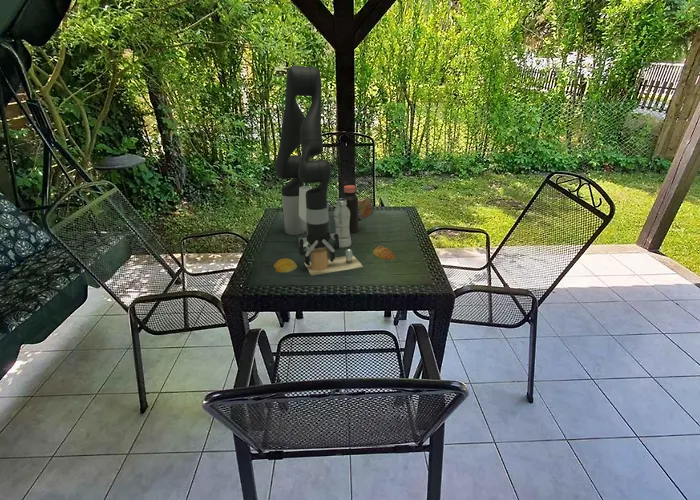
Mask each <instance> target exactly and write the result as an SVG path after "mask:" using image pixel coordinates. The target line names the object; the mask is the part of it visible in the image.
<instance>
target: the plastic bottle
mask: <svg viewBox="0 0 700 500" xmlns="http://www.w3.org/2000/svg"><path fill="white" fill-rule="evenodd" d="M336 205H337V206H336V207H335V208H334V210H333V213H332V214H333V218H334V226H335V232H336V233H337V234H338V237H339V247H340V248H342V249H343V248H348V247H350V246H352V239H351V238H352V237H351V233H350V231H349V221H350V210H349V209H348V207H347V206H346V205H347V203H346V199H342V198H337V199H336Z"/></svg>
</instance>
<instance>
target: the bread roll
mask: <svg viewBox="0 0 700 500" xmlns="http://www.w3.org/2000/svg"><path fill="white" fill-rule="evenodd" d="M273 268H275V272H277V273H291V272H293V271H295V270H296V269H297V268H298V265H297V264H296V262H295V261H294V260H293V259H291V258H280V259H279V260H277V261H276V262H275V263H274V264H273Z"/></svg>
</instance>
